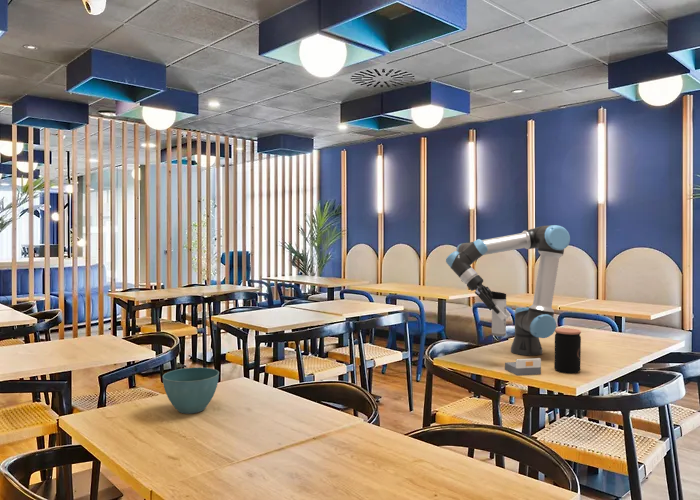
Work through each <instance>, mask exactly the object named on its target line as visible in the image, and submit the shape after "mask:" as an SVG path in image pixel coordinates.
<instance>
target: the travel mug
mask: <svg viewBox="0 0 700 500" xmlns="http://www.w3.org/2000/svg"><path fill="white" fill-rule="evenodd" d="M491 291H492V296H493V297H492V301H493V303H494V304H495V305H497V306H498V307H499V308H500V310H501V311H502V312H503V313H504V314H505V315H506V309H507V293H505V292H499V291H494V290H491ZM491 336H494V337H505V336H507V319H506V318H504V319H503V320H501V319H500V318H499V317H498V316H497V314H496V313H495V312H494V311H493V310H492V309H491Z"/></svg>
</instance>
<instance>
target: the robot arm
mask: <svg viewBox="0 0 700 500" xmlns="http://www.w3.org/2000/svg"><path fill="white" fill-rule="evenodd" d="M570 242H571V236H570V233H569V231H568V229H566V228H565V227H563V226H562V225H557V224H553V225H552V224H550V225H541V226H537V227H533V228H530V229H526V230H523V231H522V232H521V233H515V234H509V235H504V236H503V235H502V236H498V237H493V238H487V239H480V238H477V239H476V240H474V241H471V242H462V243H460V244H458V245H457V247H456V250H454V251H453V252H451V253H450V254H449V255H448V256H447V257H446V258H445V259H446V260H445V263H446V264H447V265H448V266H449V267H450V269H451V270H452V271H453V272H454V273H455V274H456V275H457V277H458V278H460V281H461V282H463V283H464V285H466V287H467V288H468V289H469V290H470V291H471V292H473V291H474V290H475V291H474V293H475V295H476V296H477V297H478V298H479V300H480V301H482V302H483V304H484V305H485V306H486V307H487V309H489V311H492V310H493V311H494V312H495V313H496V314H497V316H498V317H499V318H500V319H501V320H503V319H504V318H506V320H507V319H508V318H509V317H510V316H511V315H512V313H510V311H509V310H508V309H507V308H506V315H505V314H504V313H503V312H502V311H501V310H500V308H499V307H498V306H497V305H495V304H494V303H493V301H492V297H493V296H492V291H493V290H491V289H490V287H488V286H485V285H484V284H483V283H484V279H483V278H482V276H480V275H479V273H478V272H477V271H476V270H475V269H474V268H473V267H472V266H471V265H472V264H474V263H475V262H476V261H478V260H479V259H480V258H481V257H482V256H486V255H491V254H497V253H502V252H509V251H514V250H520V249H526V250H530V249H531V250H532V249H537V252H538V254H540V256H539V257H540V258H539V263H538V269H537V270H538V271H537V276H536V277H537V278H536V282H535V283H536V284H535V289H534V290H535V291H534V294H533V302H532V304H531V305H530V306H528V307H516V308H515V311H514V338H513V340H512V343H511V347H510V352H511V353H513V354H515V355H520V356H521V355H522V356H541V355H543V347H542V344H541V341H540V339H546V338H547V339H548V338H550V337H551V336H552V335H553V334H554V333H556V332H555V329H557V321H556V320H555V318H554V316H555V310H554V308H553V301H554V294H555V287H556V281H557V276H558V270H559V269H558V268H559V262H560V259H561V257H563V256H564V254H565V253H564V252H565V249H566V248H567V247H568V246H569V244H570Z"/></svg>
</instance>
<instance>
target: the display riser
mask: <svg viewBox="0 0 700 500" xmlns="http://www.w3.org/2000/svg"><path fill="white" fill-rule="evenodd" d="M504 370H505V371H507V370H508V371H507V372H510V373H511V374H513V375H516V376H518V377H519V376H534V375H536V376H537V375H542V358H540V357H537V358H520V359H515V361H510V362H509V361H508V362H504Z"/></svg>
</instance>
